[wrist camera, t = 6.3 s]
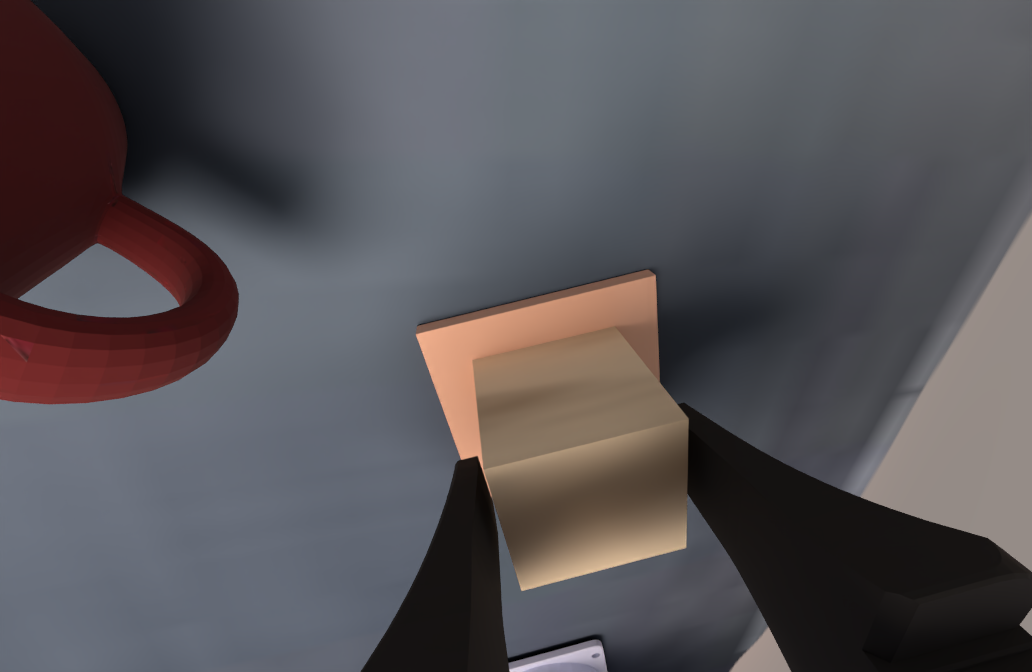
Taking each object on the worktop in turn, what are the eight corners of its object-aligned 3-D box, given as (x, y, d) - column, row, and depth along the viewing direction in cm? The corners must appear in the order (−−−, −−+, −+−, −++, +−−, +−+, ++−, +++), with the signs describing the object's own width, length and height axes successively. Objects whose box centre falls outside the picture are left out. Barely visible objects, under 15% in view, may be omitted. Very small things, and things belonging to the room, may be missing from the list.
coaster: (656, 442, 18) (662, 452, 18) (475, 489, 18) (476, 500, 17) (648, 269, 14) (655, 275, 14) (417, 326, 14) (415, 334, 13)
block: (623, 434, 17) (685, 547, 12) (501, 465, 17) (521, 591, 12) (614, 326, 14) (688, 418, 10) (472, 360, 14) (483, 469, 10)
